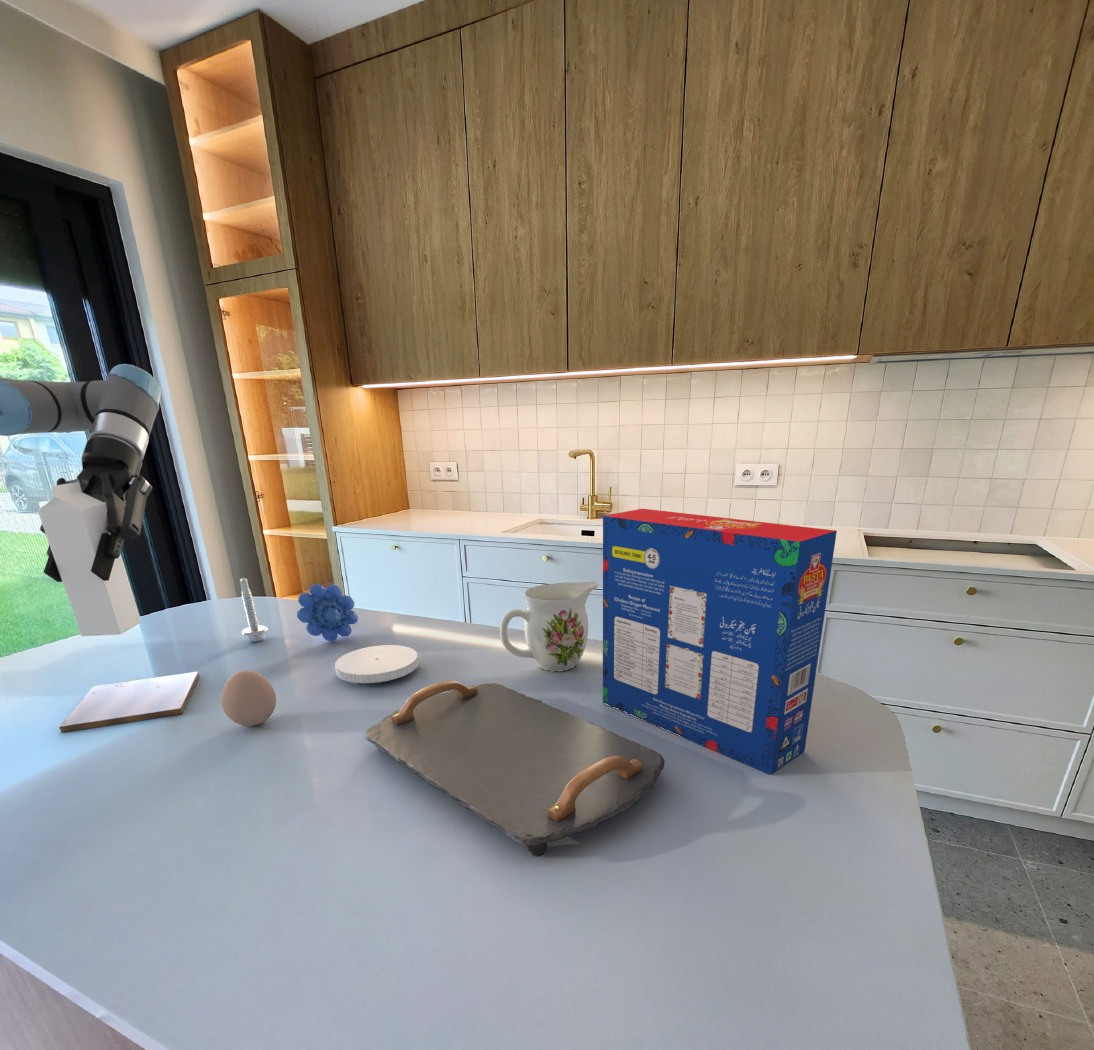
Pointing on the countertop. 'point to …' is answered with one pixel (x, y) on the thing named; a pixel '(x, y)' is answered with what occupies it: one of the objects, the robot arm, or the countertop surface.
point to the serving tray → (517, 760)
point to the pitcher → (552, 624)
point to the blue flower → (327, 612)
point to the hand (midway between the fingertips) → (76, 576)
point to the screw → (251, 615)
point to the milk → (87, 563)
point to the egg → (248, 698)
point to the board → (132, 701)
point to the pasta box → (715, 628)
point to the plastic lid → (376, 664)
